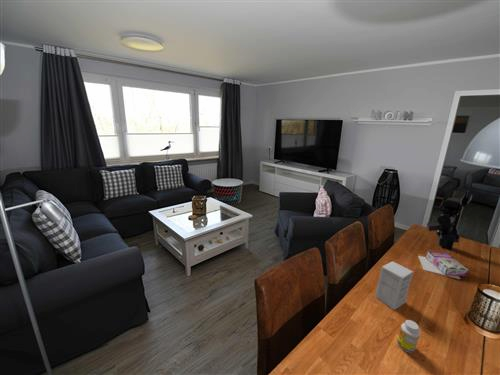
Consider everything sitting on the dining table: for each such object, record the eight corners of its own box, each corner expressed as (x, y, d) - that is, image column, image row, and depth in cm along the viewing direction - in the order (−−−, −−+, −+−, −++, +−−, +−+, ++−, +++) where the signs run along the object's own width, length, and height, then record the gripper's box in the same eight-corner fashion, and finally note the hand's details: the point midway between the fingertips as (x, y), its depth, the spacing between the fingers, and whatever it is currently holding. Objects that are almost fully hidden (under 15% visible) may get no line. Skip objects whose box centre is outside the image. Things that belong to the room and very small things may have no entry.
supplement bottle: (397, 336, 87) (404, 315, 84) (415, 345, 84) (422, 323, 81) (395, 346, 83) (401, 324, 80) (413, 356, 80) (421, 334, 77)
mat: (418, 256, 143) (418, 255, 142) (450, 263, 136) (450, 263, 136) (424, 270, 129) (424, 269, 129) (460, 279, 122) (460, 278, 122)
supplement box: (405, 303, 104) (414, 271, 99) (395, 310, 99) (403, 278, 95) (384, 289, 112) (392, 260, 107) (374, 296, 107) (381, 265, 102)
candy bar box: (425, 258, 140) (444, 275, 124) (427, 251, 139) (447, 267, 123) (444, 259, 139) (466, 277, 123) (446, 252, 138) (469, 269, 122)
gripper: (426, 212, 141) (420, 235, 146) (434, 224, 125) (426, 249, 130) (448, 216, 137) (441, 239, 141) (460, 228, 121) (451, 254, 125)
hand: (439, 245), depth 134 cm, fingers closed
